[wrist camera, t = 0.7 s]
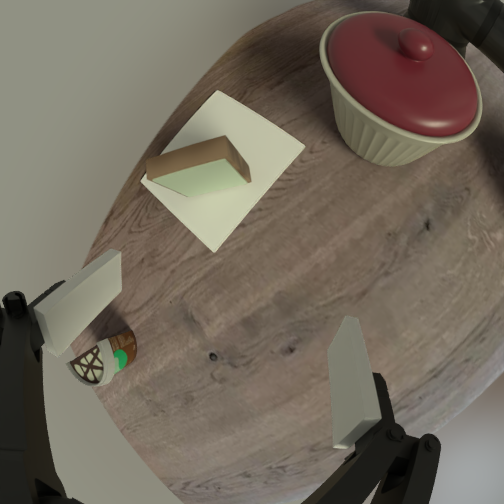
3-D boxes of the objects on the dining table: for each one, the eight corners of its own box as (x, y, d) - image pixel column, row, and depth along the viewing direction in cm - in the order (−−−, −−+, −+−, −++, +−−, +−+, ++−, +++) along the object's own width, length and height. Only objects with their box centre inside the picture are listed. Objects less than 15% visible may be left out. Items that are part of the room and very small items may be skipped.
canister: (294, 122, 37) (273, 20, 16) (370, 66, 34) (387, -27, 13) (382, 212, 34) (453, 166, 13) (450, 142, 31) (520, 76, 10)
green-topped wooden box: (252, 183, 37) (228, 157, 27) (187, 198, 39) (146, 181, 29) (249, 165, 37) (225, 135, 27) (185, 181, 40) (145, 160, 29)
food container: (115, 377, 44) (81, 395, 34) (99, 349, 44) (64, 364, 35) (154, 358, 41) (119, 379, 32) (137, 326, 42) (98, 341, 32)
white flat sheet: (218, 91, 39) (217, 89, 39) (305, 147, 36) (304, 145, 36) (142, 182, 42) (140, 181, 41) (215, 252, 39) (213, 252, 38)
